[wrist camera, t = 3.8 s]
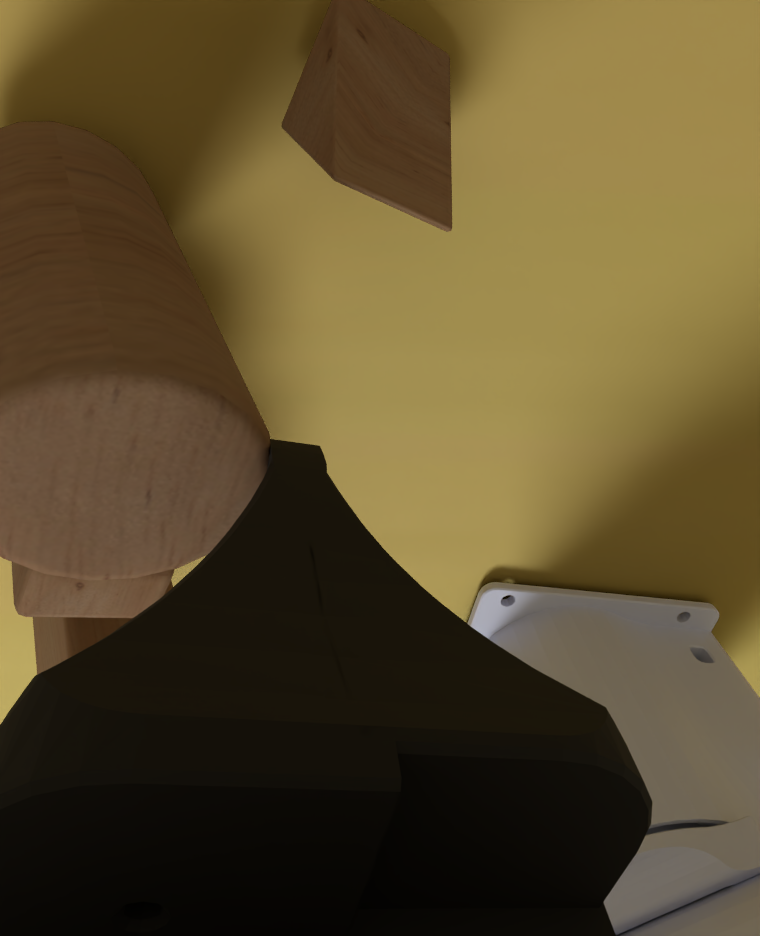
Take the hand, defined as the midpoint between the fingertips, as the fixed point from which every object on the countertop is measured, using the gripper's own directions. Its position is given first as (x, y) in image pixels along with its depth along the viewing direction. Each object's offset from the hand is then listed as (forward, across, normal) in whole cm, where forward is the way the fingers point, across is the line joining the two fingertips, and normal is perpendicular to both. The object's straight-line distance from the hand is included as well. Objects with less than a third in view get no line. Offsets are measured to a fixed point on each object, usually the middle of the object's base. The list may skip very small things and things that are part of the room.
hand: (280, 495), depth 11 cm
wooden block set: (+9, +3, +1) cm, 10 cm away
